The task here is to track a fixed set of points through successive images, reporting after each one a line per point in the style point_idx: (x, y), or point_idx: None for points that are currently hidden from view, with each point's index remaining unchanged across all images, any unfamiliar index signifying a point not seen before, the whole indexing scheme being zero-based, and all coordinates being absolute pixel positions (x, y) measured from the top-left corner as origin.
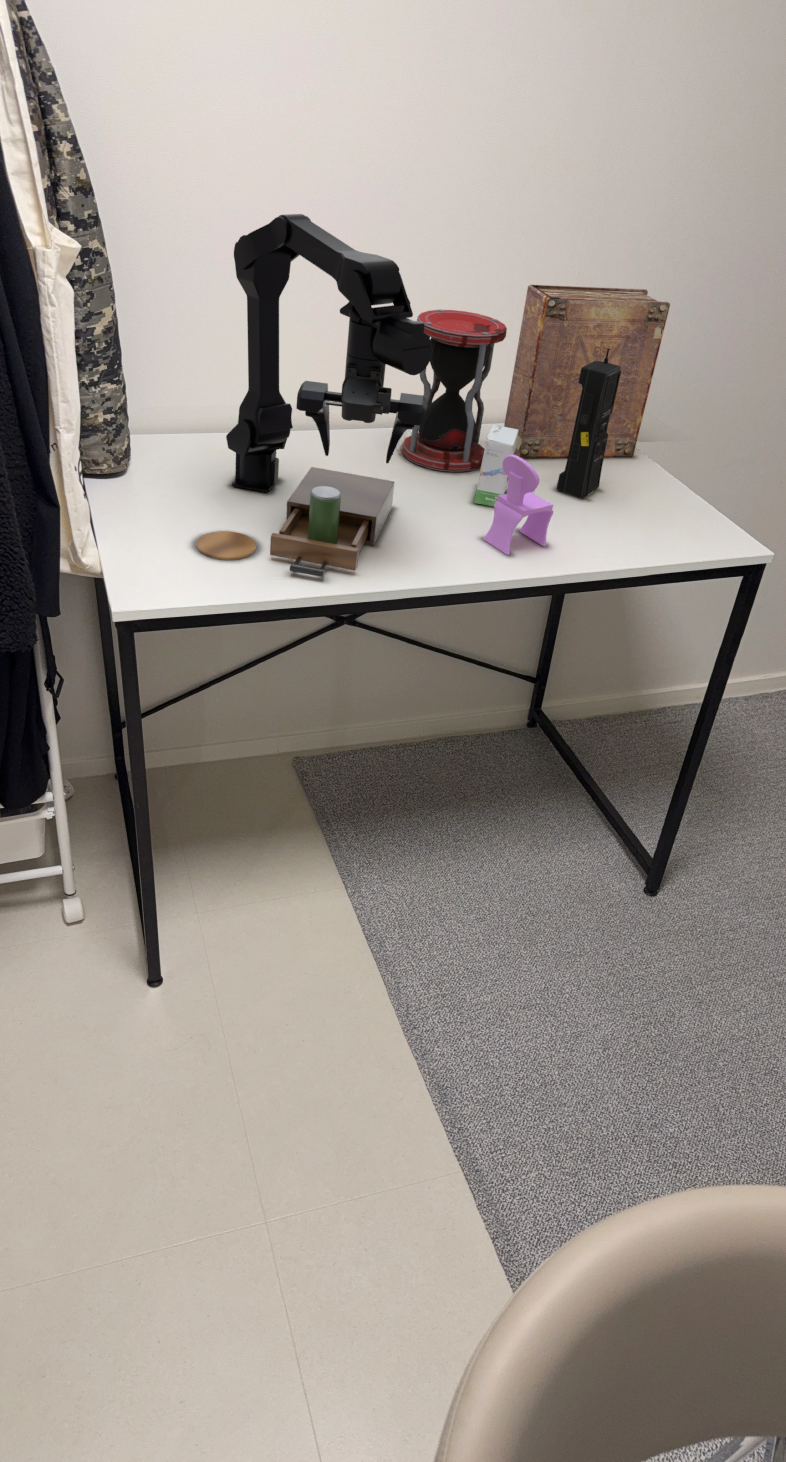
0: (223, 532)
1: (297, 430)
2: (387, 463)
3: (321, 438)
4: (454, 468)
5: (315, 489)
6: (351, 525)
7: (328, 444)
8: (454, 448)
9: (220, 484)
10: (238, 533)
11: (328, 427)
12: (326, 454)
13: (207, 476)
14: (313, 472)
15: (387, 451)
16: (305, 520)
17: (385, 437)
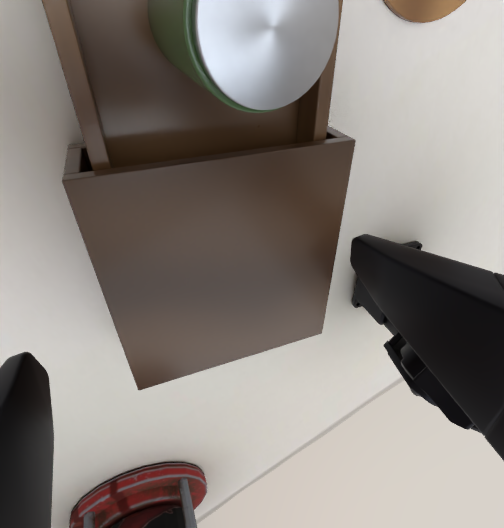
0: (450, 4)
1: (340, 419)
2: (19, 355)
3: (469, 265)
4: (99, 491)
5: (324, 30)
6: None
7: (397, 270)
8: (115, 525)
9: (433, 238)
10: (417, 17)
11: (463, 364)
12: (364, 237)
13: (450, 250)
14: (314, 316)
15: (11, 423)
16: (281, 141)
17: (235, 475)
